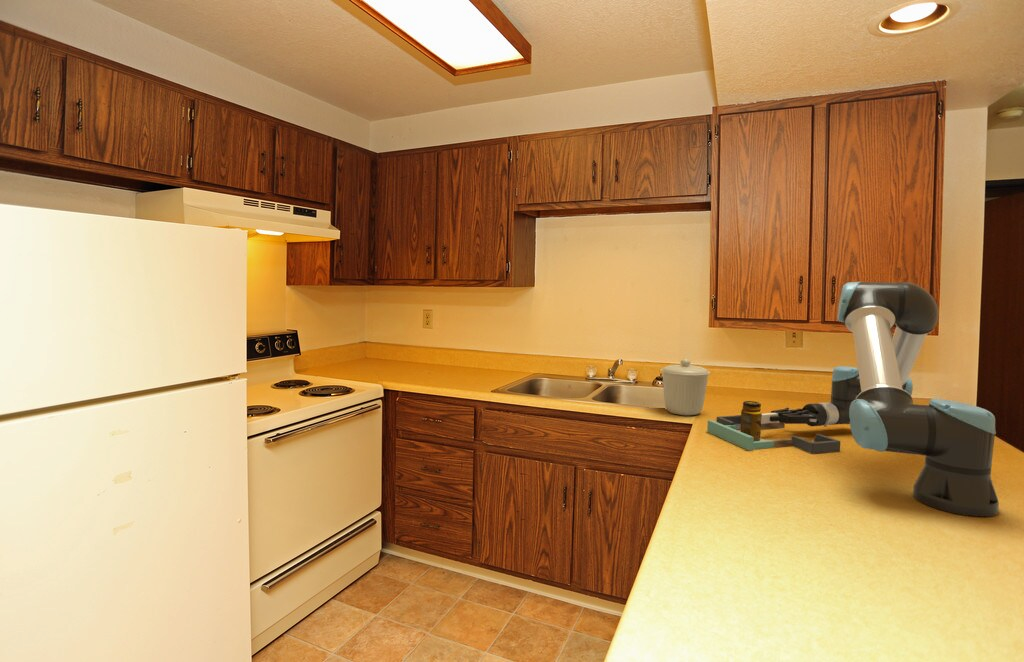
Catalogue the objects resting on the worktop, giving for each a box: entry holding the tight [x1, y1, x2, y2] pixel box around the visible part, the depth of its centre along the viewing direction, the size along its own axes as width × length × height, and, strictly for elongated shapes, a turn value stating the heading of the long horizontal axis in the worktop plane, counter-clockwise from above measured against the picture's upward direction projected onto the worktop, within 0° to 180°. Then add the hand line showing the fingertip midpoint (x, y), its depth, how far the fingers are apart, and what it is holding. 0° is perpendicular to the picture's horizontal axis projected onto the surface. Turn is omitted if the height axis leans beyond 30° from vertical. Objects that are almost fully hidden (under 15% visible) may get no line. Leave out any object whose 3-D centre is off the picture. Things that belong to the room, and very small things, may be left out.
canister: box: [660, 358, 711, 416], centre depth 206 cm, size 18×18×21 cm
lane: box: [761, 421, 817, 448], centre depth 175 cm, size 20×19×2 cm
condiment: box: [739, 400, 767, 442], centre depth 172 cm, size 7×8×12 cm
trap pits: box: [715, 414, 841, 454], centre depth 175 cm, size 18×34×3 cm, turn 15°
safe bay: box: [706, 419, 774, 451], centre depth 171 cm, size 10×20×4 cm, turn 15°
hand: (759, 418), depth 173 cm, fingers closed
